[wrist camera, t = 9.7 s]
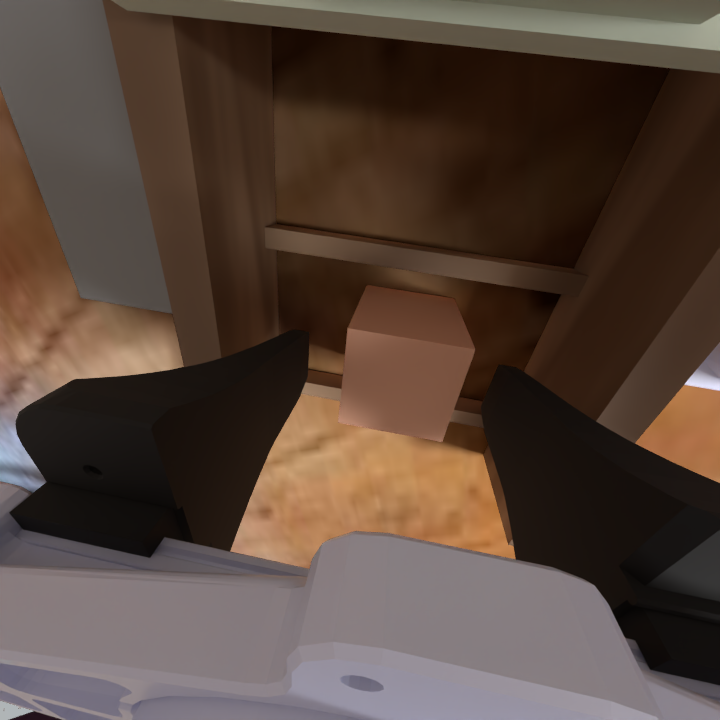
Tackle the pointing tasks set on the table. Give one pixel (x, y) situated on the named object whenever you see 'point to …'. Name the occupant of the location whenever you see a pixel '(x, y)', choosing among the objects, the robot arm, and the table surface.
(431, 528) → the table surface
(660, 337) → the brown wooden frame
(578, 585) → the robot arm
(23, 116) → the mat
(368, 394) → the block
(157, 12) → the cover
